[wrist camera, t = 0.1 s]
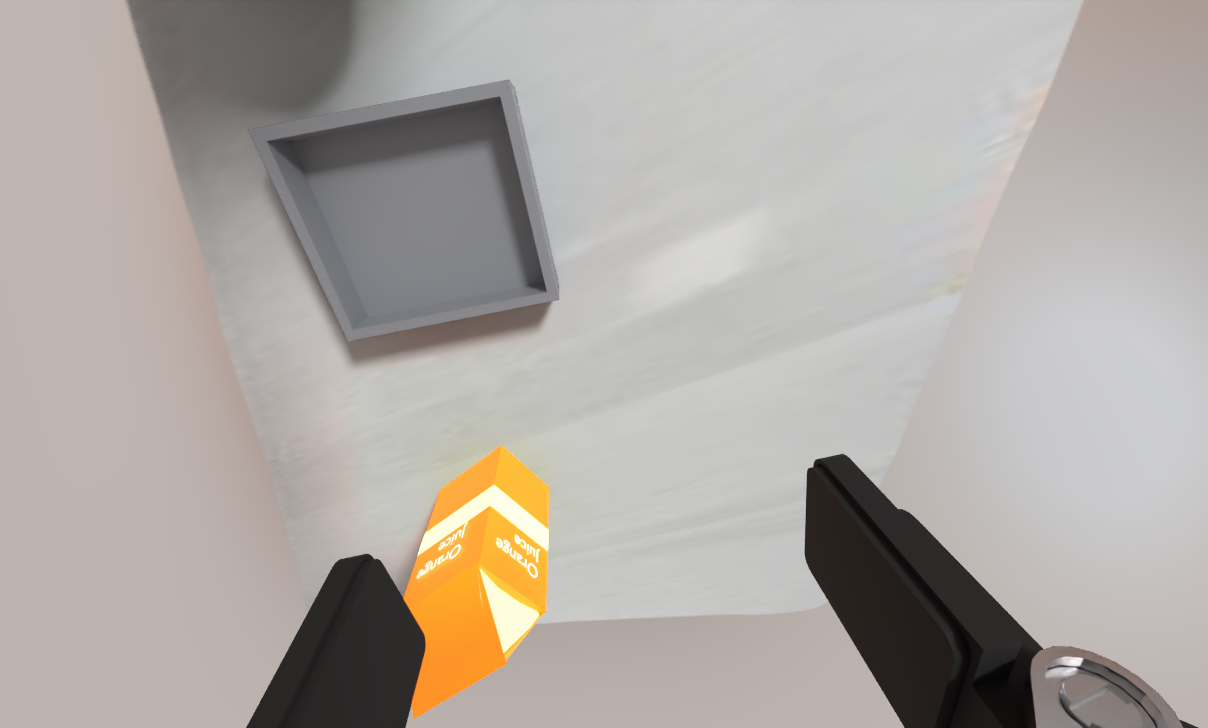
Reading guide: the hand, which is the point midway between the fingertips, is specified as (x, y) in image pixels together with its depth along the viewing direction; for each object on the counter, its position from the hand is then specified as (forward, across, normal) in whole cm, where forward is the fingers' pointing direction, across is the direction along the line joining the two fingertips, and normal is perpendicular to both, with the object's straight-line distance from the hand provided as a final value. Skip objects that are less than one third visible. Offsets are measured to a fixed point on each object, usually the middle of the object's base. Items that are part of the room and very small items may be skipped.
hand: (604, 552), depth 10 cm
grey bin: (+31, +10, -5) cm, 33 cm away
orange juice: (+31, +13, +23) cm, 41 cm away
